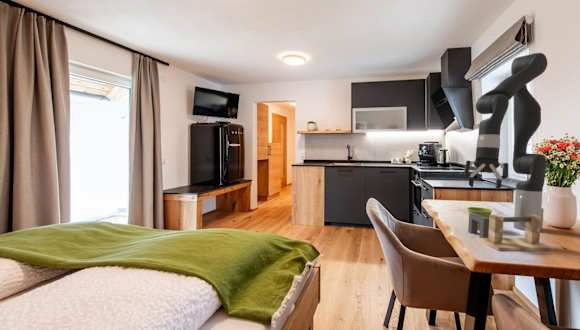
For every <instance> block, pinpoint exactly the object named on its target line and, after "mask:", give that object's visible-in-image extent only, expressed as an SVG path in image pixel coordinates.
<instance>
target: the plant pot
mask: <svg viewBox="0 0 580 330" xmlns="http://www.w3.org/2000/svg"><path fill="white" fill-rule="evenodd" d="M466 210H467V212H468V215H469V214H478V215H481V216H484V217H486V218H489V217H490V215H492V213H493V210H492V209H490V208H485V207H479V206H477V207H476V206H469V207H466ZM477 231H480V222H478V226H477Z"/></svg>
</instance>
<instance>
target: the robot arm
mask: <svg viewBox="0 0 580 330" xmlns="http://www.w3.org/2000/svg"><path fill="white" fill-rule="evenodd" d="M547 67H548V59H547V56H546V55H545V54H544V53H542V52H536V53H530V54H527V55H522V56H518V57H515V58H514V59H513V60H512V63H511V67H510V69H511V70H510V72H511V75H510V76H508V77H506V78H505V79H503V80H502V81H500V82H499V83H498V85H497V86H496V87H494V88H493V89H491V90H489V91H488V92H486V93H484V94H483V95H481V96H480V97H479V98H478V99H477V100H476V103H475V110H476V112H477V113H478V114H480V115H490V114H491V116H490V117H489V118H486V119H483V120H481V121H480V122H479V127H478V136H477V140H476V149H475V159H474V160H466V161H465V165H464V172H463V175H464V176H466V177H468V186H469V187H470V188H474V180H475V178H474V177H475V176H476V175H477V174H478V173H487V174H492V175H494V177H495V178H496V179H495V190H500V189H501V187H502V181H503V180H505V179H508V178H509V163H508V162H504V163H503V162H500V161H499V157H500V149H501V127H502V124H503V122H504V121H503V120H504V118H505V115H506V113H507V110H508V108H509V103H510V100H511V99H513V125H514V126H513V127H514V131H513V132H514V133H513V135H514V137H513V138H514V140H513V141H514V142H513V151H512V152H513V154H512V168H513V170H514V172H515V173H516V174H520V175H530V176H529V178H528V179H526V180H524V181H519V182H517V183H516V184H515V196H514V197H515V198H514V199H515V200H514V216H513V217H526V215H537V216H540V217H541V225H540V231H543V225H544V208H543V205H542V203H543V192H544V191H543V190H544V186H545V179H546V172H547V158H546V156H545V155H544V154H542V153H527V149H528V144H529V141H530V140H531V138H532V137H533V135H534V134H535V133H536V131H538V129H539V127H540V125H541V123H542V108H541V105H540V103H539V102H538V100H536V98H535V97H534V96H533V95H532V94H531V92H530V91H529V89H528V87H527V85H528V84H529V83H530V82H532V81H533V80H534V79H537V77H539V76H541V75H542V74H544V72H546V70H547ZM473 165H474V167H475V168H474V169H473V171H471V173H470V167H472V166H473ZM498 168H501V169H502V175H501V174H500V172H499V171H498V170H497V169H498ZM525 226H526V222H513V227H514V228H516V229H519V230H522V231H525Z"/></svg>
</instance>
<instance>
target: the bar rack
mask: <svg viewBox="0 0 580 330" xmlns="http://www.w3.org/2000/svg"><path fill="white" fill-rule="evenodd" d="M514 222H526V226H525V230H524V237H504V236H503V231H504V223H514ZM540 225H541V217H540V216H537V215H526V217H514V216H503V215H499V214H491V215H490V217H489V235H488V238H480V237H476V241H477V242H479V243H481V244H483V245H485V246H487V247H489V248H491V249H494V250H496V251H500V252H501V251H504V252H505V251H506V252H507V251H554V247H553V246H550V245H548V244H546V243H545V244H544V243H542V242H540V240H541V238H540V236H541V230H540Z"/></svg>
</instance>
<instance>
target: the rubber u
mask: <svg viewBox="0 0 580 330" xmlns="http://www.w3.org/2000/svg"><path fill="white" fill-rule="evenodd" d="M478 222H480V230H479V236H478V238H488V235H489V218H486V217H484V216H481V215H478V214H469V213H468V227H467V228H468V230H467V232H468V234H471V235H474V234H475V235H476V234H478V230H477V226H478Z"/></svg>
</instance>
